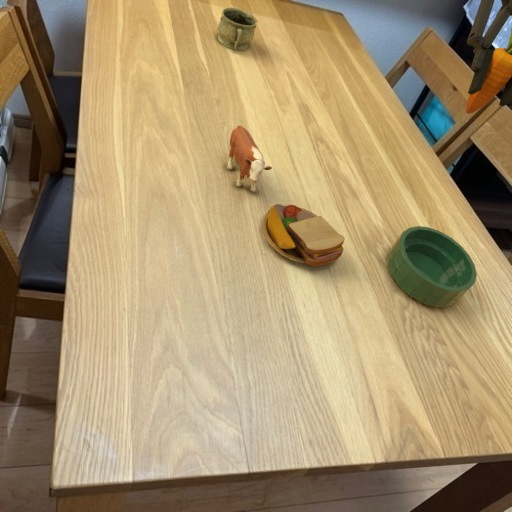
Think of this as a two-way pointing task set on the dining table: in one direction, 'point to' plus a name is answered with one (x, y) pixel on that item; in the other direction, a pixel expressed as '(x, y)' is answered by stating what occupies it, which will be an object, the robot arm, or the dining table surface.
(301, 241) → the toy sandwich meal
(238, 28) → the vessel
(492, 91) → the carrot
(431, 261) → the bowl
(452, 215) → the dining table surface
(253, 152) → the bull figurine
